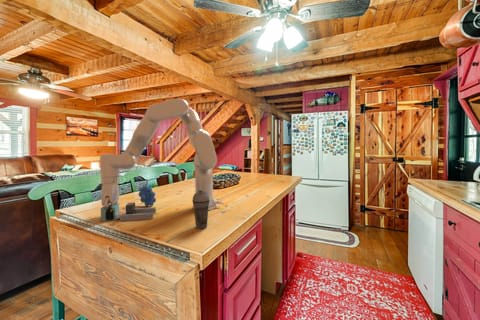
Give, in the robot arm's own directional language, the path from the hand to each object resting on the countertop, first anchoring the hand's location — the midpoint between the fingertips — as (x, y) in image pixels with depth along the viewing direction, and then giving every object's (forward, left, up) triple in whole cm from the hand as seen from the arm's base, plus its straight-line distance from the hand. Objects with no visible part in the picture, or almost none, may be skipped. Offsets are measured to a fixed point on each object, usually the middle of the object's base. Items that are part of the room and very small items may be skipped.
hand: (112, 217), depth 108 cm
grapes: (-12, -18, -1) cm, 22 cm away
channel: (-12, 0, -1) cm, 12 cm away
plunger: (-6, 0, 0) cm, 6 cm away
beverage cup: (-41, +21, -1) cm, 46 cm away
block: (+1, 0, -1) cm, 1 cm away
